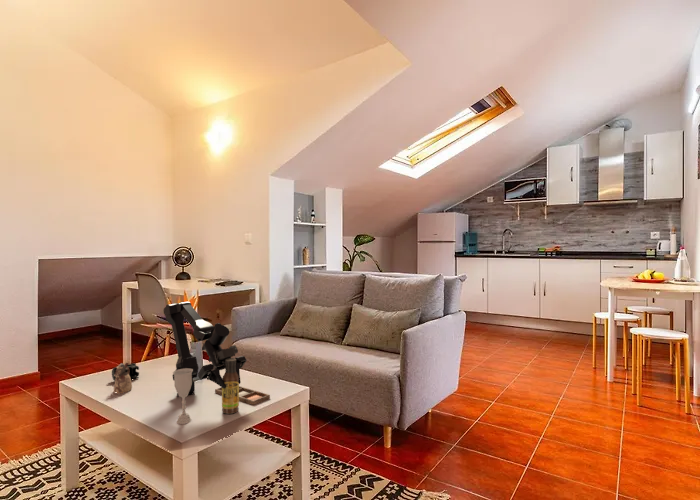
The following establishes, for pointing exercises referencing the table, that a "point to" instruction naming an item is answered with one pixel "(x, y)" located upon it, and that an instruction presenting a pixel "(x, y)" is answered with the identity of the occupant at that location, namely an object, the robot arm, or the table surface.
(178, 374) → the chalice
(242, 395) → the brown compartment tray
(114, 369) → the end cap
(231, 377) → the sauce bottle
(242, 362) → the robot arm
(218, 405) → the table surface
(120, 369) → the figurine
